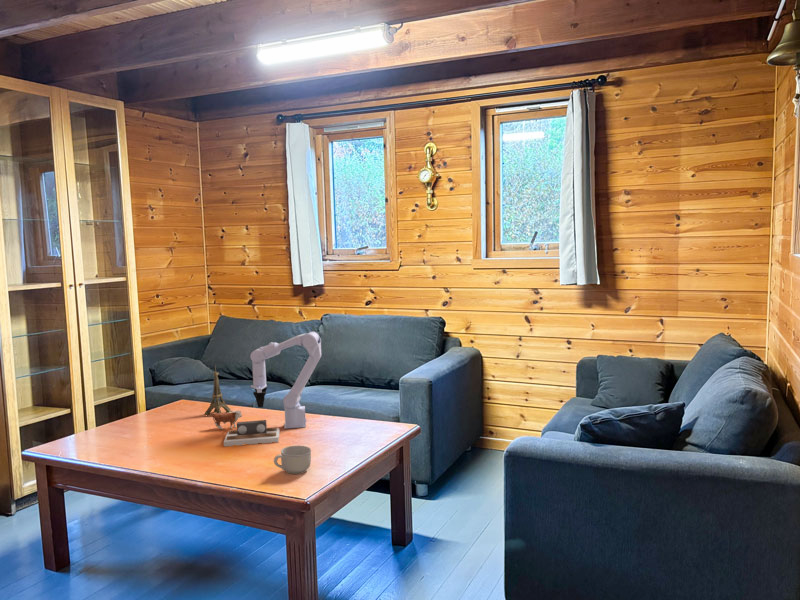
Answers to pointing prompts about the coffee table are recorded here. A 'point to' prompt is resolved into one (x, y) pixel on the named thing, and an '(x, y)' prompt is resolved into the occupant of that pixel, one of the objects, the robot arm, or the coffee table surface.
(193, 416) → the coffee table surface
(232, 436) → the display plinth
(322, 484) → the coffee table surface
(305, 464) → the teacup
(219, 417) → the bull figurine
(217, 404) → the eiffel tower
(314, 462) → the coffee table surface
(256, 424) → the grey rectangular block
